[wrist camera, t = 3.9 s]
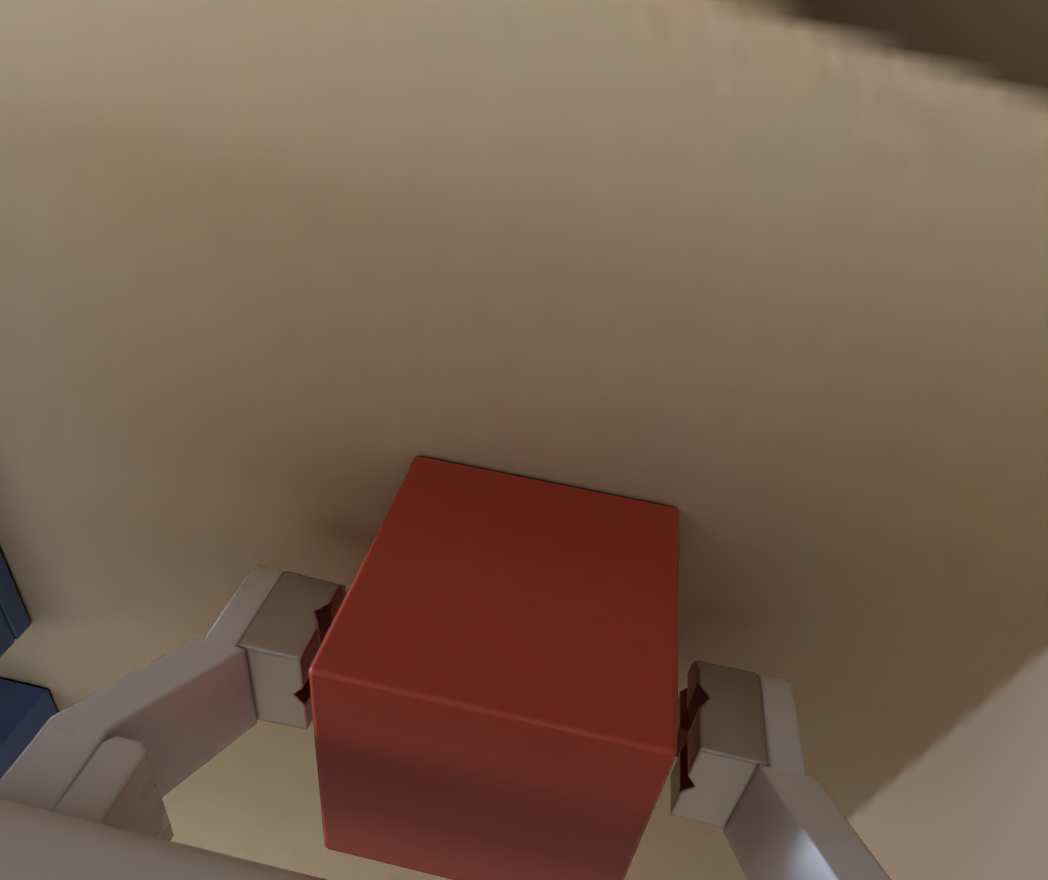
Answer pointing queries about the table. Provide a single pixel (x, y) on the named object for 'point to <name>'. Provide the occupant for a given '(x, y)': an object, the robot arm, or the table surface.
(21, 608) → the blue tray
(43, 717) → the blue block
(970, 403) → the table surface
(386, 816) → the red block
